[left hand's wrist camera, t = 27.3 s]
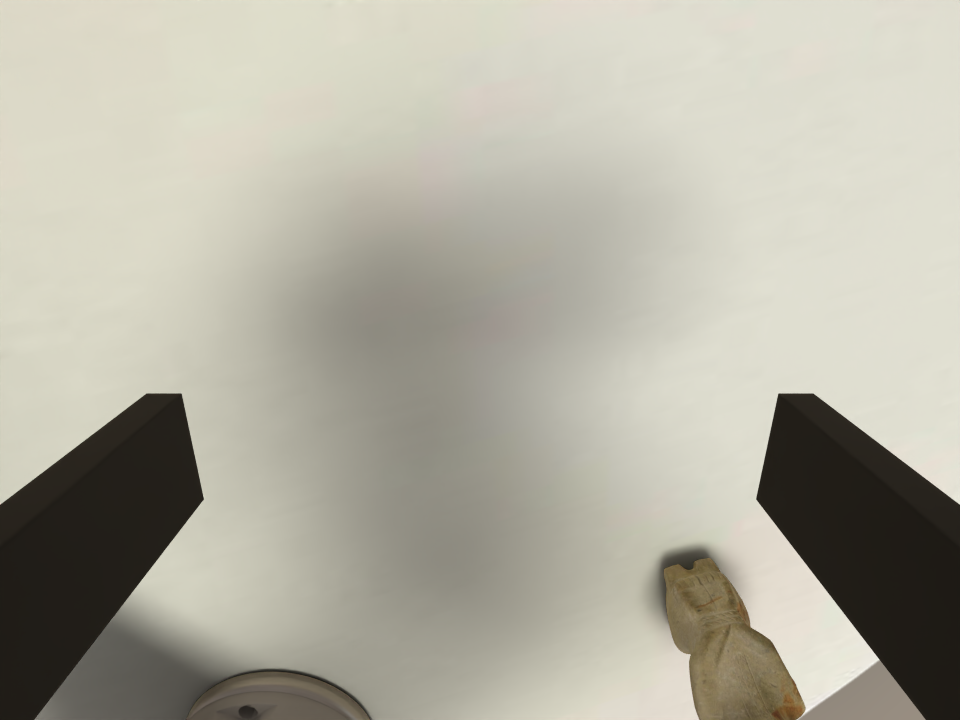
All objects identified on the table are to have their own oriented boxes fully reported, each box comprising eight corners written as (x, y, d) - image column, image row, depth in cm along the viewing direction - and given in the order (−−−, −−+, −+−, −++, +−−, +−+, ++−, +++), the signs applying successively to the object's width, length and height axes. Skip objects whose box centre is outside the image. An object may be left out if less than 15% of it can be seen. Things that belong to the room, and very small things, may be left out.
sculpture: (655, 632, 42) (748, 875, 28) (644, 555, 40) (740, 779, 26) (734, 618, 42) (867, 857, 28) (728, 540, 39) (871, 758, 25)
